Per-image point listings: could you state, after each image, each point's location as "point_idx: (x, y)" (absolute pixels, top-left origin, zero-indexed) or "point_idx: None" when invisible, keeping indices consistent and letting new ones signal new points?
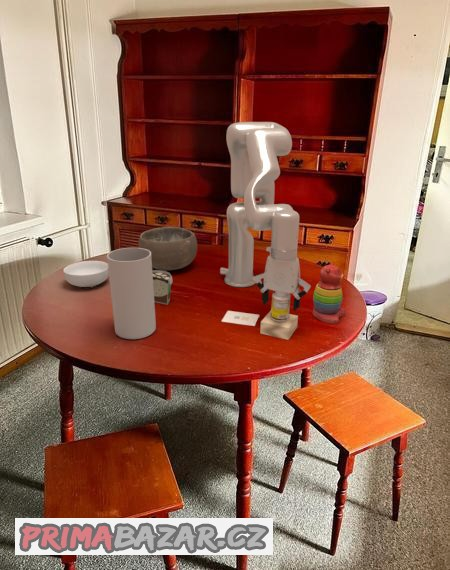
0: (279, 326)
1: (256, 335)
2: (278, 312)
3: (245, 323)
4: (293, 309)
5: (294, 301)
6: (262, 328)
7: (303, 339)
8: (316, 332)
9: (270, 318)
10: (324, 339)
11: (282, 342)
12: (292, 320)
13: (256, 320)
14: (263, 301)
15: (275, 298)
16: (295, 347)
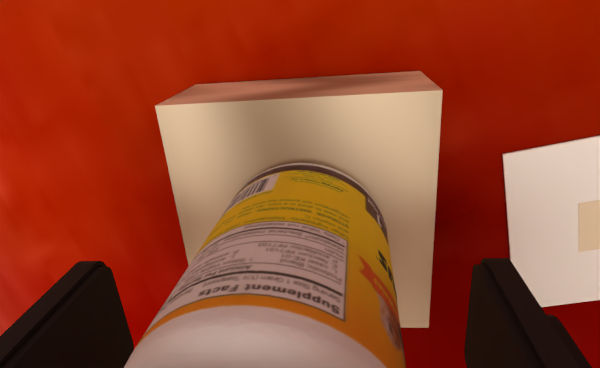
0: (245, 99)
1: (438, 23)
2: (270, 201)
3: (586, 156)
4: (96, 272)
5: (2, 352)
6: (410, 80)
7: (118, 143)
8: (103, 257)
9: (378, 196)
10: (23, 203)
11: (213, 27)
12: (199, 243)
13: (512, 233)
14: (518, 285)
15: (303, 326)
16: (103, 8)
